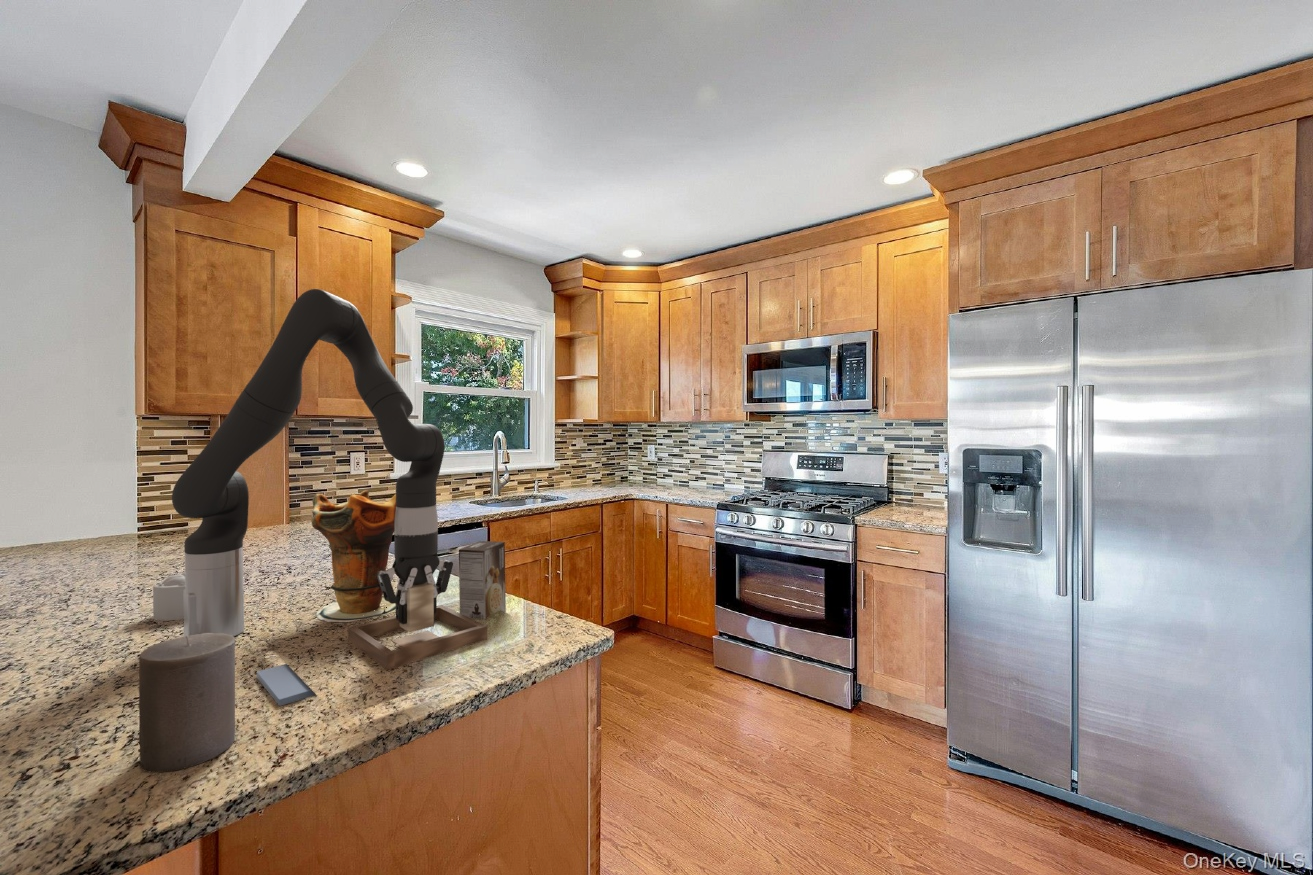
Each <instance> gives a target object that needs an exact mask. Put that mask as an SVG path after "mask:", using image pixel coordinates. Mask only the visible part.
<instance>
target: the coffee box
mask: <svg viewBox="0 0 1313 875" xmlns="http://www.w3.org/2000/svg"><path fill="white" fill-rule="evenodd" d="M458 578H459V579H458V580H459V581H458V584H459V585H458V586H459V587H458V588H459V591H458V592H459V593H458V594H459V596H458V597H459V598H458V599H459V613H460V614H462V615H465V616H467V617H469V618H471V619H478V620H479V619H480V620H487V619H488V618H490V617H492V616H494V615H495V614H496V613H498V612H499V611H501V612H504V613H506V610H507V609H506V608H507V606H506V604H507V603H506V601H507V600H506V599H507V598H506V596H507V595H506V541H486V540H485V541H484V540H483V541H482V540H479V541H478V542H477V541H476V542H475V543H472V544H469V545H467V546H465V547H462V548H460V549H459V548H458Z"/></svg>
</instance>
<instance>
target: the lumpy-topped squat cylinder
mask: <svg viewBox="0 0 1313 875" xmlns="http://www.w3.org/2000/svg"><path fill="white" fill-rule="evenodd" d="M184 589H185V571H184V572H182V573H181V574H172V575H170V576H168V577H166V578H165V579H164V580H163V581H161V582H158V583H155V584H154V585H153V586H152V598H153V599H152V610H153V620H155V621H177V620H184V601H183V591H184Z"/></svg>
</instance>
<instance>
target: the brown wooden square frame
mask: <svg viewBox="0 0 1313 875" xmlns="http://www.w3.org/2000/svg"><path fill="white" fill-rule="evenodd" d="M435 621H441V622H443V623H445V624H446V625H449V626H451V627H452V628H455V629H457V630H458V631H456V632H453V633H450V634H446V635H441V636H439V635H437V634H435V633H433V632H431V631H429V630H424V631H422V632H421V631H420V632H417V633H414V634H409V635H406V636H403V637H399V638H395V639H391V642H393V643H394V644H396V645H398V646H399V647H400V648H397V649H392V650H391V649H390V648H389V647H387V646H385V645H384V644H383V643H381V642H379V641H378V640H377V639H375V638H374V637H377V636H381V635H386V634H388V633H394V632H397V631H400V630H404V629H403V628H401V627H400V623H399V621H397V619H396V615H394V616H391V617H387V618H383V619H378V620H373V621H370V622H366V623H361V624H357V625H353V626H349V627H347V641H348V642H349V643H350V644H352V645H353V646H354V647H356V648H357V649H358V650H359V651H361V652H362V653H363V654H365V655H366V656H367V657H369V658H371V660H373V661H375V662H376V663H377V664H379V665H380V666H381V667H383V668H384V669H385V670H386V671H387V670H388V671H389V670H391V669H395V668H398V667H401V666H404V665H405V666H406V665H408V664H412V663H415V662H417V661H420V660H424V659H427V658H430V657H434V656H437V655H438V656H439V655H442V654H444V653H447V652H450V651H454V650H457V649H461V648H463V647H468V646H469V645H474V644H476V643H477V644H478V643H480V642H483V641H486V640H487V641H488V625H486V624H484V623H482V622H479V621H477V620H474V618H469V617H467V616H465V615H462V614H460V612H457V611H456V610H454V609H452V608H449V607H447V606H445V605H443V604H441V605H437V611H436V613H435V614H434V622H435Z"/></svg>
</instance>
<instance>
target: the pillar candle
mask: <svg viewBox="0 0 1313 875" xmlns="http://www.w3.org/2000/svg"><path fill="white" fill-rule="evenodd" d="M138 658H139V661H138V662H139V663H138V676H139V678H138V711H139V719H138V720H139V721H138V723H139V725H138V727H139V730H138V731H139V735H138V738H139V740H138V745H139V761H138V766H139V768H140V769H141V770H142V771H144V772H147V773H165V772H167V773H168V772H173V771H178V770H182V769H186V768H187V769H188V768H191V767H195V766H197V765H200V764H202V763H205V762H207V761H209V760H212V759H213V758H215V757H217V756H219V755H221V754H222V753H224V752H225V751H226V750H229V748H230V747H231V746H232V745H233V743H234V742H235V740H236V739H235V738H236V737H235V735H236V730H235V729H236V677H235V676H236V660H235V659H236V636H232V635H228V634H221V633H203V634H196V635H190V636H184V635H183V636H181V637H175V638H171V639H167V640H164V641H161V642H158V643H156V644H153V645H151V646H149V647H147V648H145V649H144V650H142V651H141V652H140V654H139V657H138Z"/></svg>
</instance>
